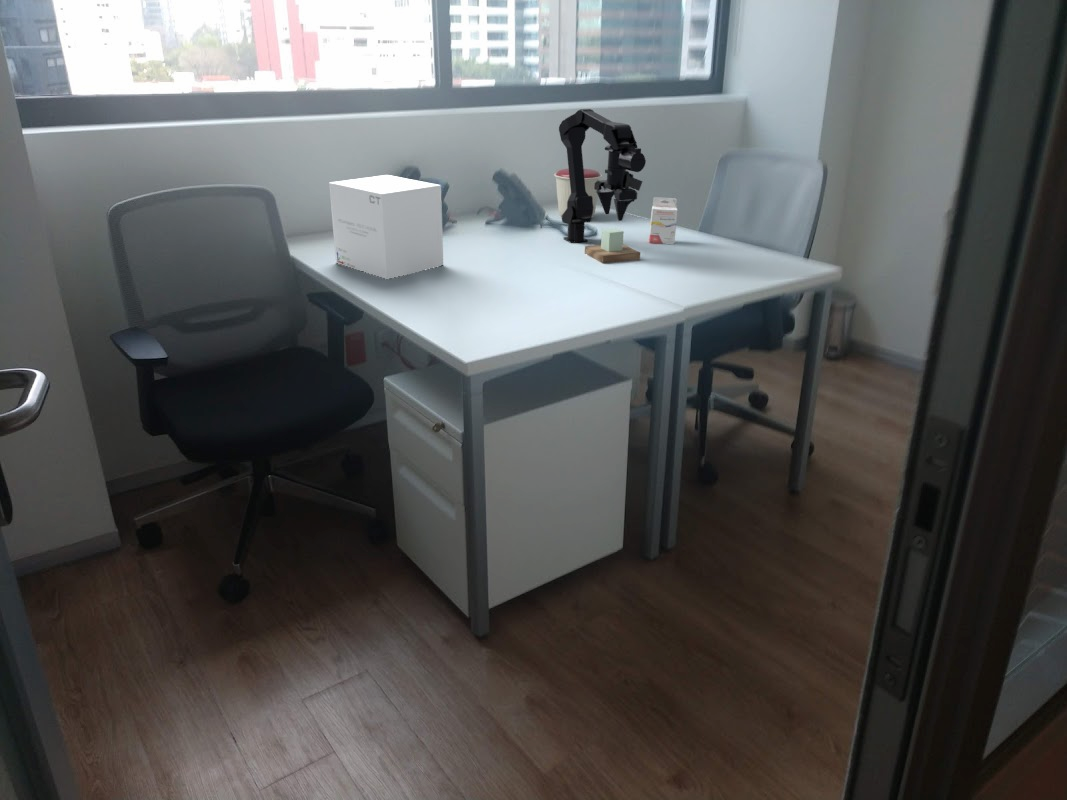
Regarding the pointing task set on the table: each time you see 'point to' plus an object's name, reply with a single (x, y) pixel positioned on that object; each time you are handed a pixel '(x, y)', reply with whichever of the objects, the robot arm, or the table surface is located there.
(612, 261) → the walnut base
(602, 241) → the sage block
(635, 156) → the robot arm
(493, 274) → the table surface
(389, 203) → the cube
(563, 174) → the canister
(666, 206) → the ink cartridge box
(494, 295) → the table surface
